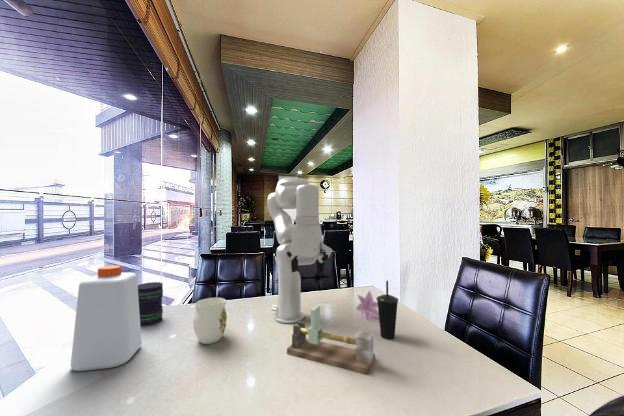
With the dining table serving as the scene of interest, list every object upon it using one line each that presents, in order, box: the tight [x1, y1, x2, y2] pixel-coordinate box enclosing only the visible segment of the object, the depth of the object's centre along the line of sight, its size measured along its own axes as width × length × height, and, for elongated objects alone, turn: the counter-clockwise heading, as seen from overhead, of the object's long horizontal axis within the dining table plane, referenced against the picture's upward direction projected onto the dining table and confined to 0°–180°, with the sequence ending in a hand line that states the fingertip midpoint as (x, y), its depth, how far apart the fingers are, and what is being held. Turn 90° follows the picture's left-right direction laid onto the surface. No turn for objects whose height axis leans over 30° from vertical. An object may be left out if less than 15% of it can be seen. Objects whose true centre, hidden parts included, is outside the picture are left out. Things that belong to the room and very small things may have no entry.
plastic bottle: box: [70, 265, 142, 372], centre depth 82 cm, size 15×15×28 cm
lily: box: [355, 290, 379, 322], centre depth 114 cm, size 12×12×10 cm
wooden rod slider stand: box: [286, 320, 376, 375], centre depth 83 cm, size 26×9×8 cm, turn 65°
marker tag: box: [307, 305, 324, 344], centre depth 85 cm, size 3×4×10 cm
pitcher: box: [193, 297, 228, 345], centre depth 95 cm, size 11×18×14 cm, turn 4°
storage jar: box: [137, 281, 164, 327], centre depth 110 cm, size 10×10×15 cm
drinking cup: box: [376, 280, 399, 341], centre depth 96 cm, size 8×8×20 cm
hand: (307, 272), depth 88 cm, fingers open, 9 cm apart
